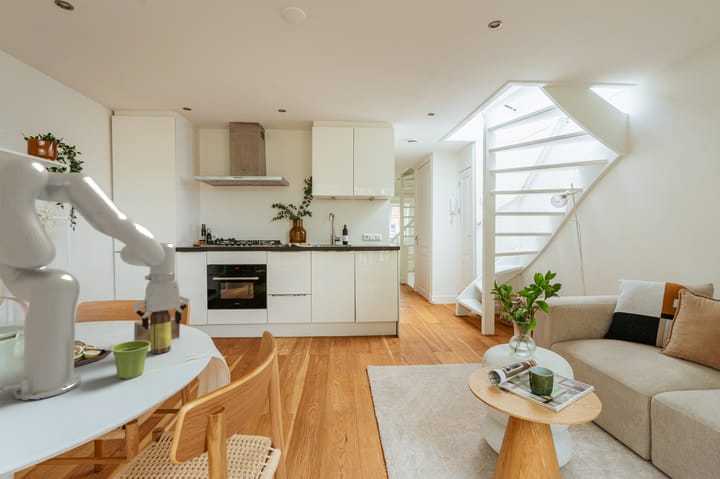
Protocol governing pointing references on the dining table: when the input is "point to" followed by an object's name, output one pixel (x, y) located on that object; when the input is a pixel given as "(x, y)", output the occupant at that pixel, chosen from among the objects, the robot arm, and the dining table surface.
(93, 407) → the dining table surface
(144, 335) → the letter block
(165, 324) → the sauce bottle
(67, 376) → the robot arm
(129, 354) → the plant pot
